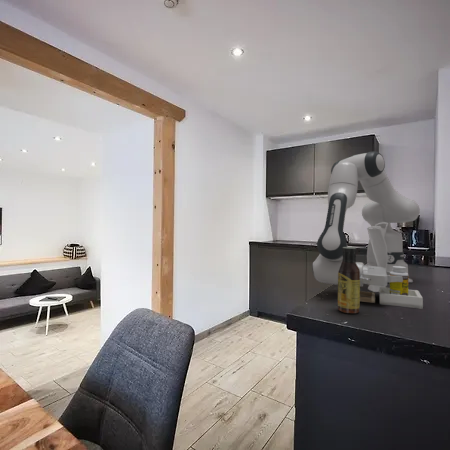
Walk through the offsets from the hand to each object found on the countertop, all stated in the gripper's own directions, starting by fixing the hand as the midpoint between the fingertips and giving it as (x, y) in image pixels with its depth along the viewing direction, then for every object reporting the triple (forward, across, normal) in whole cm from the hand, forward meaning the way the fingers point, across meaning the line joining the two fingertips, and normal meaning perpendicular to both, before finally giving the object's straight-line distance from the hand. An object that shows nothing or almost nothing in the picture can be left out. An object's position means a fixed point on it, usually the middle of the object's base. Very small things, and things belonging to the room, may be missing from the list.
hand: (402, 277), depth 98 cm
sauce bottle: (-15, -20, +9) cm, 27 cm away
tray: (-1, 0, +9) cm, 9 cm away
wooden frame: (-13, 0, +9) cm, 16 cm away
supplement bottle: (-1, 0, +7) cm, 7 cm away
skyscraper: (-7, +17, +9) cm, 20 cm away
